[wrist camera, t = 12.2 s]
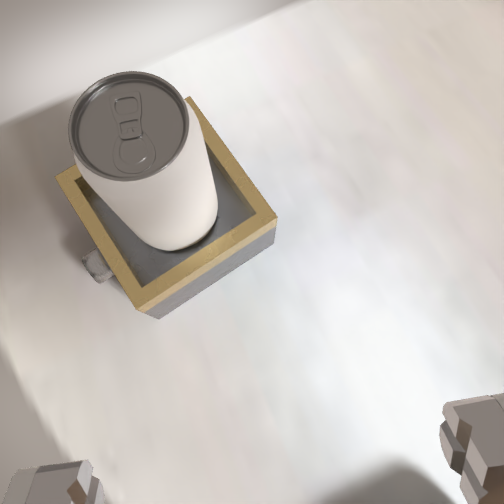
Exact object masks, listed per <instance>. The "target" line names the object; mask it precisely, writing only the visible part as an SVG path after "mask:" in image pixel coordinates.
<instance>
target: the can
mask: <svg viewBox="0 0 504 504" xmlns="http://www.w3.org/2000/svg"><path fill="white" fill-rule="evenodd" d="M68 133H69V140H70V144H71V147H72V149H73V154H74V159H75V162H76V165H77V167H78V169H79V171H80V173H81V174H82V176H83V178H84V179H85V180H86V182H87V183H88V184H89V185H90V186H91V187H92V189H93V190H94V191H95V192H96V193H97V194H98V195H99V196H100V197H101V198H102V199H103V200H104V202H105V203H106V204H107V205H108V206H109V207H110V208H111V209H112V210H113V211H114V212H115V213H116V214H117V215H118V216H119V217H120V218H121V220H122V221H123V222H124V223H125V224H126V225H127V226H128V227H129V228H130V229H131V230H132V231H133V232H134V233H135V234H136V235H137V236H138V237H139V238H140V239H141V240H142V241H144V242H145V243H147V244H148V245H150V246H152V247H155V248H158V249H161V250H166V251H174V250H180V249H184V248H187V247H189V246H192V245H194V244H195V243H197V242H199V241H200V240H201V239H203V238H204V237H205V236H206V235H207V234H208V232H209V231H210V230H211V228H212V226H213V224H214V222H215V220H216V216H217V211H218V200H217V194H216V189H215V185H214V180H213V176H212V171H211V167H210V163H209V159H208V154H207V150H206V146H205V142H204V138H203V134H202V130H201V127H200V124H199V121H198V119H197V117H196V114H195V113H194V111H193V109H192V108H191V106H190V105H189V104H188V103H187V102H186V101H185V100H184V99H183V98H182V96H181V95H180V93H179V92H178V91H177V90H176V89H175V88H174V87H173V86H172V85H171V84H170V83H168V82H167V81H165V80H164V79H162V78H160V77H158V76H155V75H153V74H149V73H145V72H137V71H128V72H120V73H116V74H113V75H110V76H107V77H105V78H103V79H101V80H99V81H97V82H96V83H94V84H93V85H91V86H90V87H89V88H88V89H87V90H86V91H85V92H84V93H83V94H82V95H81V96H80V98H79V99H78V100H77V102H76V104H75V105H74V108H73V110H72V112H71V115H70V119H69V127H68Z"/></svg>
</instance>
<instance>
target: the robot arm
mask: <svg viewBox="0 0 504 504" xmlns="http://www.w3.org/2000/svg"><path fill="white" fill-rule="evenodd" d="M442 413H443V415H444V417H445V419H446V420H445V421H444V422H443V423H442V424H441V425H440V434H439V436H440V442H441V447H442V450H443V453H444V456H445V458H446V460H447V462H448V464H449V466H450V468H451V469H453V470H454V471H456V472H457V473H458V474H460V475H461V476H462V477H461V482H460V489H461V491H462V493H463V495H464V497H465V499H466V501H467V503H468V504H504V393H501V394H496V395H490V396H488V395H486V396H480V397H474V398H468V399H463V400H457V401H451V402H446V403H445V405H444V406H443V412H442ZM92 472H93V467H92V465H91V463H90V462H89V460H81V461H74V462H67V463H60V464H53V465H46V466H37V467H31V468H25V469H19V470H18V471H17V472H16V473H15V475H14V476H13V477H12V479H11V482H10V484H9V487H8V490H7V492H6V495H5V498H4V500H3V503H2V504H105V494H104V490H103V485H102V484H101V482H100V480H99V479H98V478H96V477H94V476H92Z"/></svg>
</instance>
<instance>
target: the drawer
mask: <svg viewBox="0 0 504 504" xmlns="http://www.w3.org/2000/svg"><path fill="white" fill-rule="evenodd" d="M184 100H185V101H186V102H187V103H188V104H189V105H190V106H191V108H192V109H193V111H194V113H195V114H196V117H197V119H198V121H199V124H200V127H201V130H202V134H203V138H204V142H205V146H206V150H207V154H208V159H209V163H210V167H211V171H212V176H213V180H214V185H215V189H216V194H217V200H218V211H217V216H216V220H215V222H214V224H213V226H212V228H211V230H210V231H209V232H208V234H207V235H206V236H205V237H204V238H203V239H201V240H200V241H199V242H197V243H195V244H194V245H192V246H189V247H187V248H184V249H180V250H174V251H166V250H161V249H158V248H155V247H152V246H150V245H148V244H147V243H145V242H144V241H142V240H141V239H140V238H139V237H138V236H137V235H136V234H135V233H134V232H133V231H132V230H131V229H130V228H129V227H128V226H127V225H126V224H125V223H124V222H123V221H122V220H121V218H120V217H119V216H118V215H117V214H116V213H115V212H114V211H113V210H112V209H111V208H110V207H109V206H108V205H107V204H106V203H105V202H104V200H103V199H102V198H101V197H100V196H99V195H98V194H97V193H96V192H95V191H94V190H93V189H92V187H91V186H90V185H89V184H88V183H87V182H86V180H85V179H84V178H83V176H82V174H81V173H80V171H79V169H78V167H77V165H76V164H75V165H73V166H72V167H70V168H68V169H67V170H65V171H63V172H62V173H60V174H58V175H57V176H55V179H56V180H57V182H58V183H59V185H60V187H61V188H62V190H63V192H64V193H65V195H66V196H67V198H68V200H69V201H70V203H71V205H72V206H73V208H74V209H75V211H76V213H77V214H78V216H79V218H80V219H81V221H82V222H83V224H84V226H85V227H86V229H87V231H88V232H89V234H90V235H91V237H92V239H93V240H94V242H95V244H96V245H97V247H98V248H96V249H95V250H93V251H91V252H90V253H88V254H87V255H85V256H83V257H82V262H83V264H84V266H85V267H86V269H87V270H88V272H89V273H90V275H91V276H92V277H93V278H94V280H95V281H96V282H98V283H99V284H101V283H103V282H104V281H106V280H107V279H109V278H110V277H112V276H114V275H115V276H116V278H117V279H118V281H119V283H120V284H121V286H122V287H123V289H124V291H125V292H126V294H127V296H128V297H129V299H130V300H131V302H132V304H133V305H134V307H135V309H136V310H138V311H140V312H143V313H145V314H147V315H150V316H152V317H154V318H157V319H160V318H162V317H163V316H165V315H166V314H168V313H169V312H171V311H172V310H174V309H175V308H177V307H178V306H180V305H181V304H183V303H184V302H186V301H187V300H189V299H190V298H192V297H194V296H195V295H197V294H198V293H200V292H201V291H203V290H204V289H206V288H207V287H209V286H210V285H212V284H213V283H215V282H216V281H218V280H219V279H221V278H222V277H224V276H225V275H227V274H228V273H230V272H231V271H233V270H234V269H236V268H237V267H239V266H240V265H242V264H243V263H245V262H246V261H248V260H249V259H251V258H252V257H254V256H255V255H257V254H258V253H260V252H261V251H263V250H264V249H266V248H268V247H269V246H271V245H272V244H274V238H275V231H276V224H277V218H278V217H277V216H276V214H275V213H274V211H273V210H272V209H271V207H270V206H269V205H268V203H267V202H266V200H265V199H264V198H263V196H262V195H261V193H260V192H259V191H258V189H257V188H256V187H255V185H254V184H253V182H252V181H251V180H250V178H249V177H248V176H247V174H246V173H245V171H244V170H243V169H242V167H241V166H240V165H239V163H238V162H237V160H236V159H235V158H234V156H233V155H232V153H231V152H230V151H229V149H228V148H227V147H226V145H225V144H224V142H223V141H222V140H221V138H220V137H219V136H218V134H217V133H216V131H215V130H214V129H213V127H212V126H211V125H210V123H209V122H208V120H207V119H206V118H205V116H204V115H203V113H202V112H201V111H200V109H199V108H198V107H197V105H196V104H195V102H194V101H193V100H192V98H191V97H190V96H189V97H187V98H186V99H184Z"/></svg>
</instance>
